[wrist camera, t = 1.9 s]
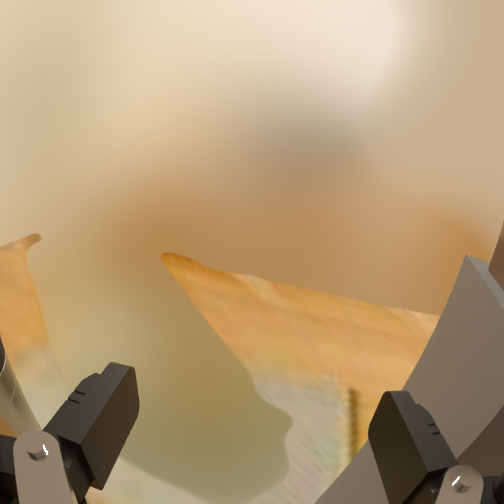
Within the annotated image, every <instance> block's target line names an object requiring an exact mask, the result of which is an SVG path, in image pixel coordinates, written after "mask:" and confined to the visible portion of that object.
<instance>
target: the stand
mask: <svg viewBox="0 0 504 504" xmlns="http://www.w3.org/2000/svg"><path fill="white" fill-rule="evenodd" d="M489 265H490V263H488V262H485V261H483V260H480V259H477V258H474V257H472V256H469V255H467V254H466V255H465V258H464V261H463V264H462V266H461V269H460V272H459V274H458V277H457V279H456V282H455V285H454V287H453V290H452V292H451V295H450V297H449V299H448V302H447V304H446V306H445V308H444V311H443V313H442V315H441V317H440V319H439V322H438V324H437V326H436V328H435V330H434V332H433V334H432V336H431V338H430V340H429V342H428V344H427V346H426V348H425V350H424V352H423V354H422V355H421V357H420V359H419V361H418V363H417V365H416V366H415V368H414V370H413V372H412V373H411V375H410V377H409V379H408V380H407V382H406V384H405V385H404V387H403V389H402V390H401V391H403V390H407V391H408V392H409V393H410V395H411V396H412V398H413V400H414V402H415V403H416V404H420V405H421V406H423V407H424V408H425V409H426V410H427V411H428V412H430V414H431V416H432V417H433V419H434V421H435V423H436V425H437V426H438V428H439V429H440V431H441V432H440V433H441V434H442V435H443V436H444V438H445V440H446V442H447V444H448V445H449V447H450V449H451V451H452V453H453V454H454V456H455V458H456V460H457V462H458V464H459V465H466V466H470V467H472V468H474V469H475V470H477V471H478V472H479V473H480V475H481V476H482V477H486V476H500V475H501V474H502V473H503V472H504V291H503V289H502V288H501V287H500V285H499V284H498V283H497V281H496V280H495V279H494V277H493V276H492V275H491V273H490V272H489V271H488V268H489ZM315 504H389V503H388V499H387V496H386V493H385V489H384V486H383V483H382V480H381V476H380V473H379V470H378V467H377V464H376V461H375V457H374V454H373V451H372V448H371V445H370V442H369V439H368V440H367V442H366V443H365V444H364V446H363V447H362V448H361V450H360V451H359V452H358V454H357V455H356V456H355V457H354V459H353V460H352V461H351V462H350V464H349V465H348V466H347V467H346V468H345V470H344V471H343V472H342V473H341V474H340V475H339V477H338V478H337V479H336V480H335V481H334V482H333V483H332V485H331V486H330V487H329V488H328V489H327V490H326V491H325V492H324V493H323V494H322V495H321V497H320V498H319V499H318V500H317V501H316V503H315Z"/></svg>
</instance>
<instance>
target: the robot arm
mask: <svg viewBox="0 0 504 504" xmlns="http://www.w3.org/2000/svg"><path fill="white" fill-rule="evenodd" d="M138 412H139V396H138V389H137V382H136V374H135V369H134V368H133V367H131V366H126V365H122V364H118V363H114V362H111V363H109V364H108V366H107V367H106V368H105V369H104V371H103V372H102V373H101V374H97V373H94V374H92V375H90V376H88V377H87V378H85V379H83V380H82V381H81V382H80V384H79V385H78V386H77V387H76V388H75V390H74V392H72V393H71V395H70V396H69V397H68V400H66V401H65V402H64V404H63V405H62V406H61V407H60V409H59V410H58V411H57V412H56V414H55V415H54V416H53V418H52V419H51V420H50V421H49V423H48V424H47V425H46V427H45V428H44V429H43V430H42V429H41V427H40V425H39V423H38V421H37V420H36V418H35V416H34V414H33V412H32V410H31V408H30V406H29V404H28V402H27V400H26V398H25V396H24V394H23V392H22V390H21V387H20V385H19V383H18V381H17V379H16V376H15V374H14V372H13V369H12V367H11V365H10V362H9V360H8V357H7V354H6V352H5V349H4V346H3V344H2V341H1V337H0V504H89V501H88V498H87V496H86V493H87V491H88V489H89V487H90V486H91V487H94V488H96V489H99V490H103V488H104V485H105V483H106V481H107V479H108V477H109V475H110V473H111V471H112V468H113V466H114V464H115V462H116V460H117V458H118V456H119V454H120V452H121V450H122V448H123V445H124V444H125V441H126V439H127V437H128V435H129V433H130V431H131V429H132V427H133V425H134V423H135V421H136V419H137V416H138ZM440 432H441V431H440V429H439V428H438V426H437V425H436V423H435V421H434V419H433V417H432V416H431V414H430V412H428V411H427V410H426V409H425V408H424V407H423V406H421V405H420V404H416V403H415V402H414V400H413V398H412V396H411V395H410V393H409V392H408V391H407V390H403V391H386V392H385V393H384V394H383V395H382V398H381V400H380V402H379V405H378V407H377V409H376V411H375V414H374V416H373V418H372V420H371V422H370V425H369V430H368V438H369V442H370V445H371V448H372V451H373V454H374V457H375V461H376V464H377V467H378V470H379V473H380V476H381V480H382V483H383V486H384V489H385V493H386V496H387V499H388V503H389V504H504V472H503V473H502V474H501V475H500V476H486V477H482V476H481V475H480V473H479V472H478V471H477V470H475V469H474V468H472V467H470V466H466V465H459V464H458V462H457V460H456V458H455V456H454V454H453V453H452V451H451V449H450V447H449V445H448V444H447V442H446V440H445V438H444V436H443V435H442V434H441V433H440Z"/></svg>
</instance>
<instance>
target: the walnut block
mask: <svg viewBox="0 0 504 504" xmlns="http://www.w3.org/2000/svg"><path fill="white" fill-rule="evenodd" d="M488 271H489V272H490V273H491V275H492V276H493V277H494V279H495V280H496V281H497V283H498V284H499V285H500V287H501V288H502V289H503V291H504V222H503V226H502V229H501V233H500V236H499V239H498V242H497V245H496V248H495V251H494V254H493V257H492V260H491V263H490V265H489V268H488Z"/></svg>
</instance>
